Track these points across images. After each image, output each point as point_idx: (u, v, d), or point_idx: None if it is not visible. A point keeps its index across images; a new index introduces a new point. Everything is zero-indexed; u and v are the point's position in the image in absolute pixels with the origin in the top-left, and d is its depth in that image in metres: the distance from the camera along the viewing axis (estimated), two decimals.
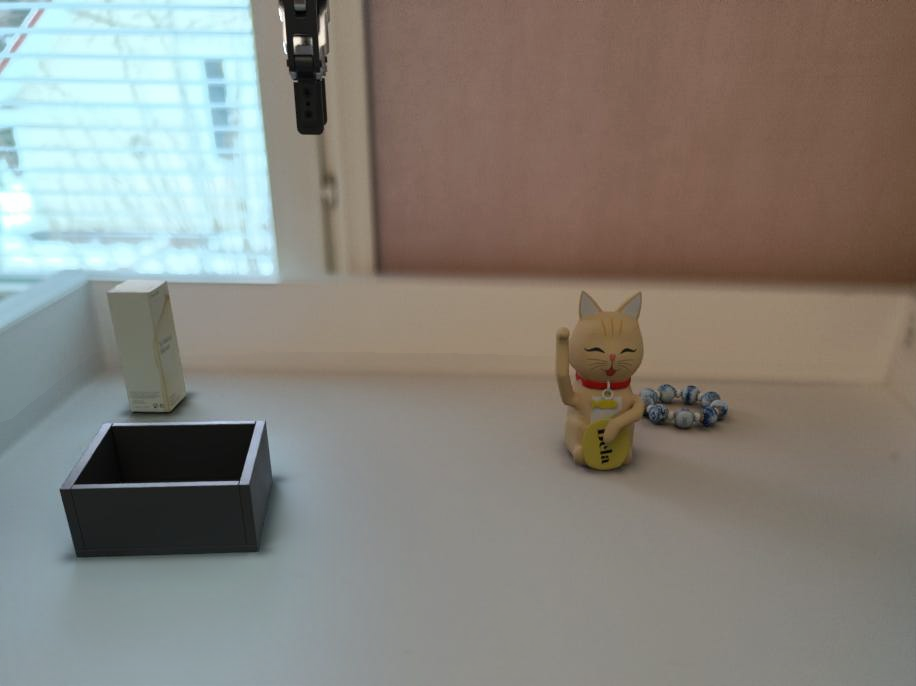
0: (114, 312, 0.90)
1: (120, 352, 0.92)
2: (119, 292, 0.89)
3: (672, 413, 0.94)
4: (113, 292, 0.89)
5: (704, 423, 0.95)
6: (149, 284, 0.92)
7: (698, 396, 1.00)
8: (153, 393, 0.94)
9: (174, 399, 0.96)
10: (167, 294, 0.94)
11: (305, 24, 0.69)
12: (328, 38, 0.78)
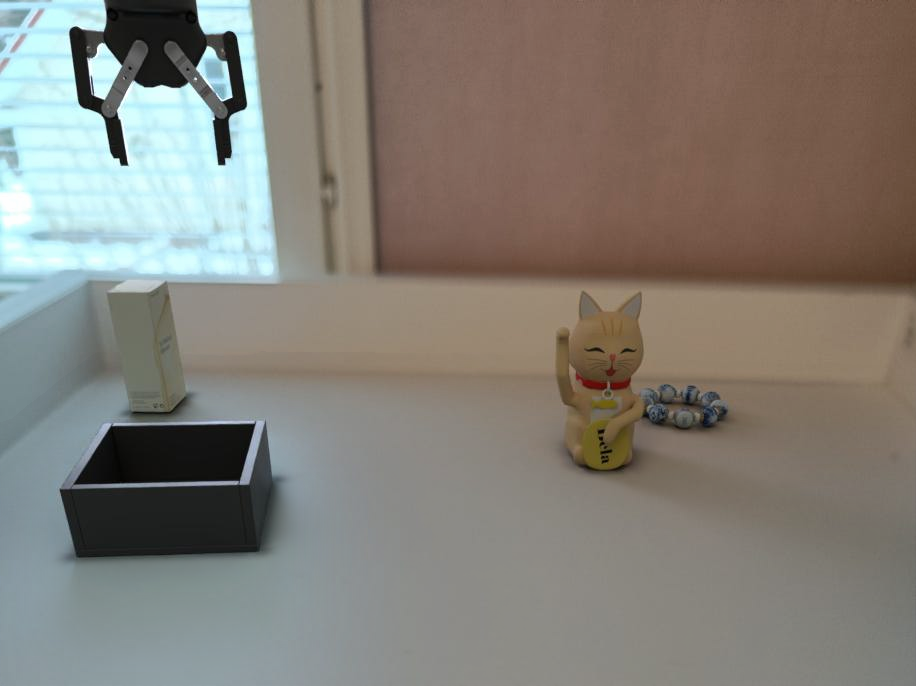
0: (114, 312, 0.90)
1: (120, 352, 0.92)
2: (119, 292, 0.89)
3: (672, 413, 0.94)
4: (113, 292, 0.89)
5: (704, 423, 0.95)
6: (149, 284, 0.92)
7: (698, 396, 1.00)
8: (153, 392, 0.94)
9: (174, 399, 0.96)
10: (167, 294, 0.94)
11: None
12: (191, 81, 0.79)
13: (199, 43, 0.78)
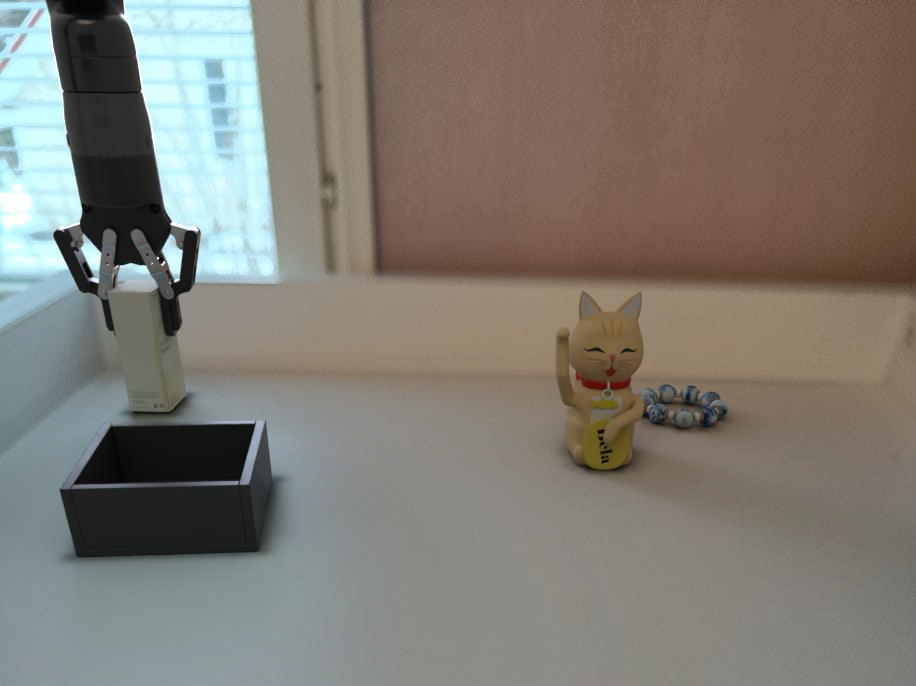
0: (115, 312, 0.90)
1: (120, 352, 0.92)
2: (120, 292, 0.89)
3: (672, 413, 0.94)
4: (114, 292, 0.89)
5: (704, 423, 0.95)
6: (150, 284, 0.92)
7: (698, 396, 1.00)
8: (153, 392, 0.94)
9: (174, 399, 0.96)
10: None
11: None
12: (147, 263, 0.88)
13: (163, 229, 0.88)
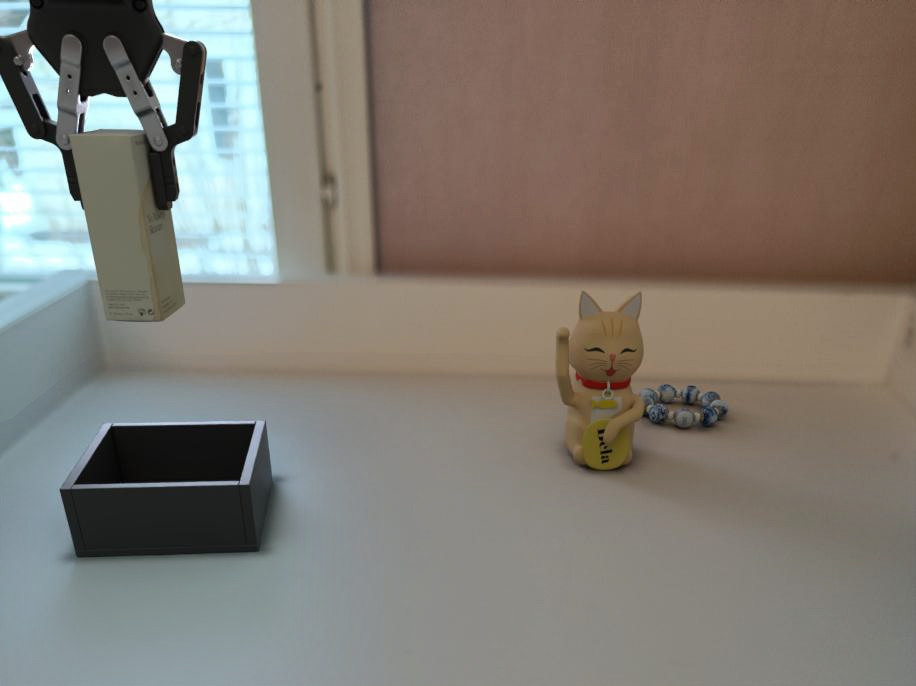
0: (81, 167, 0.61)
1: (90, 230, 0.63)
2: (88, 135, 0.60)
3: (672, 413, 0.94)
4: (79, 135, 0.60)
5: (704, 423, 0.95)
6: (133, 131, 0.63)
7: (698, 396, 1.00)
8: (138, 292, 0.65)
9: (168, 305, 0.68)
10: None
11: None
12: (128, 92, 0.60)
13: (151, 38, 0.59)
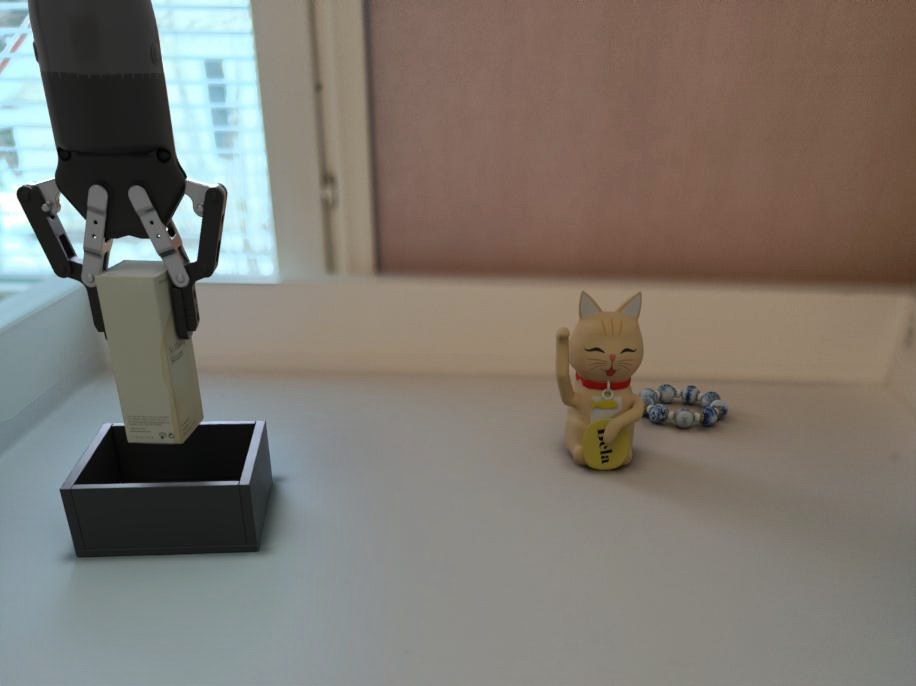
0: (106, 305, 0.63)
1: (114, 361, 0.65)
2: (113, 276, 0.62)
3: (672, 413, 0.94)
4: (104, 276, 0.62)
5: (704, 423, 0.95)
6: (155, 266, 0.65)
7: (698, 396, 1.00)
8: (159, 418, 0.68)
9: (188, 426, 0.70)
10: None
11: None
12: (151, 236, 0.62)
13: (174, 186, 0.61)
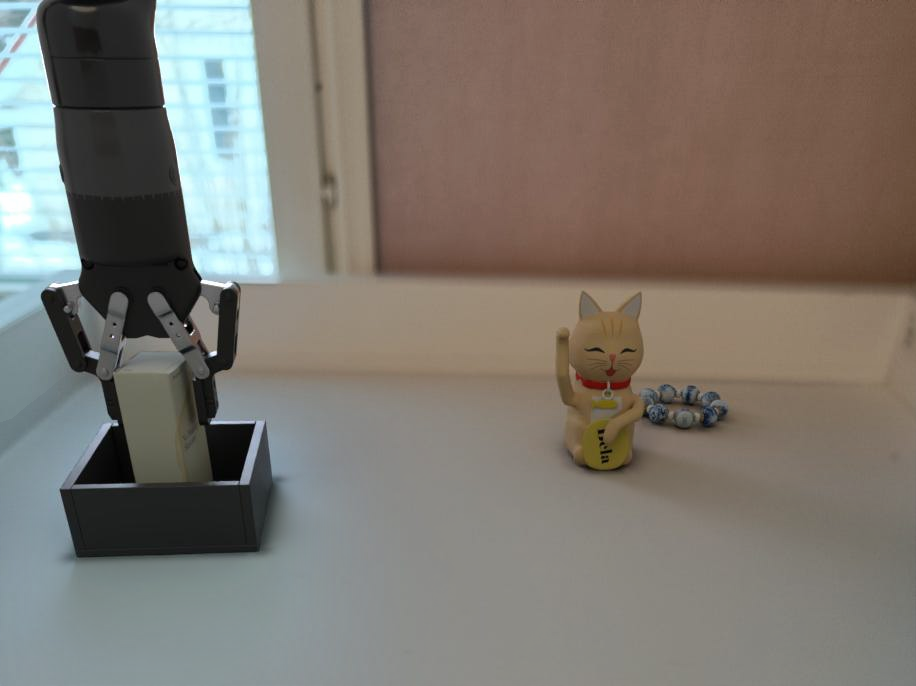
0: (123, 399, 0.67)
1: (131, 449, 0.69)
2: (130, 373, 0.66)
3: (672, 413, 0.94)
4: (122, 373, 0.66)
5: (704, 423, 0.95)
6: (169, 359, 0.69)
7: (698, 396, 1.00)
8: None
9: None
10: None
11: None
12: (172, 336, 0.66)
13: (191, 290, 0.65)
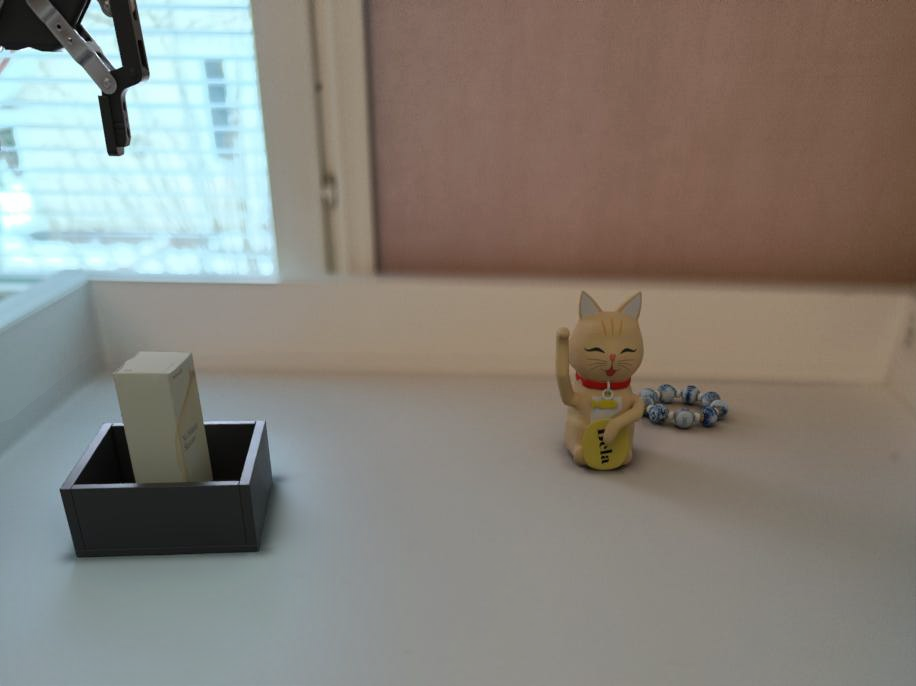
0: (123, 399, 0.67)
1: (131, 449, 0.69)
2: (130, 373, 0.66)
3: (672, 413, 0.94)
4: (122, 373, 0.66)
5: (704, 423, 0.95)
6: (169, 359, 0.69)
7: (698, 396, 1.00)
8: None
9: None
10: (193, 369, 0.71)
11: None
12: (64, 42, 0.59)
13: None
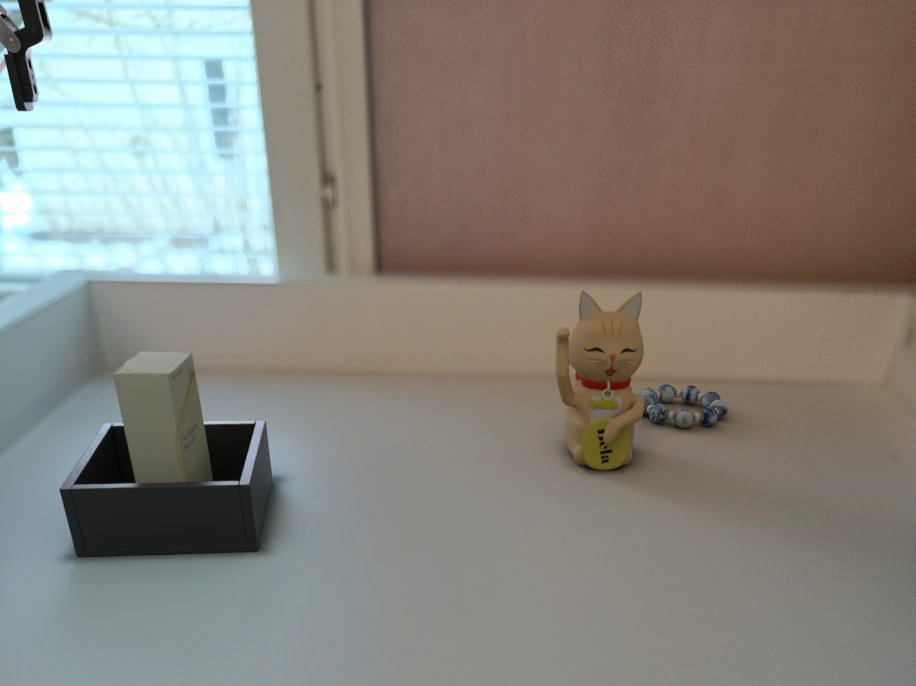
0: (123, 399, 0.67)
1: (131, 449, 0.69)
2: (130, 373, 0.66)
3: (672, 413, 0.94)
4: (122, 373, 0.66)
5: (704, 423, 0.95)
6: (169, 359, 0.69)
7: (698, 396, 1.00)
8: None
9: None
10: (193, 369, 0.71)
11: None
12: None
13: None
